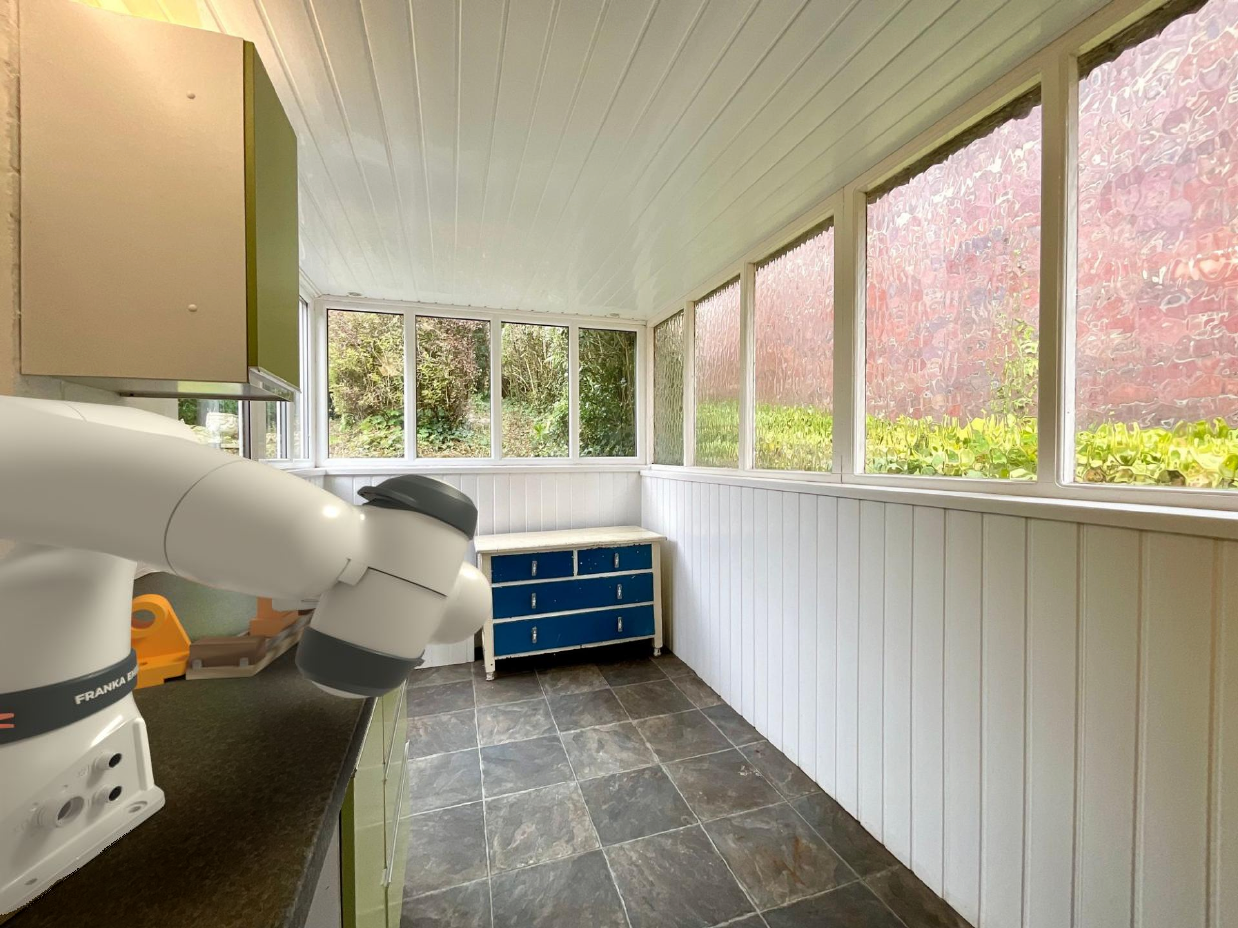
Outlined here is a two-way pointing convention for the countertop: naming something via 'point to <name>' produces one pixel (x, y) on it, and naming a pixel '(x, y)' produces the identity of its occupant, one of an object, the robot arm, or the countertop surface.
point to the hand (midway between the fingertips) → (271, 586)
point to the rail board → (251, 667)
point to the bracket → (158, 642)
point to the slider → (271, 619)
